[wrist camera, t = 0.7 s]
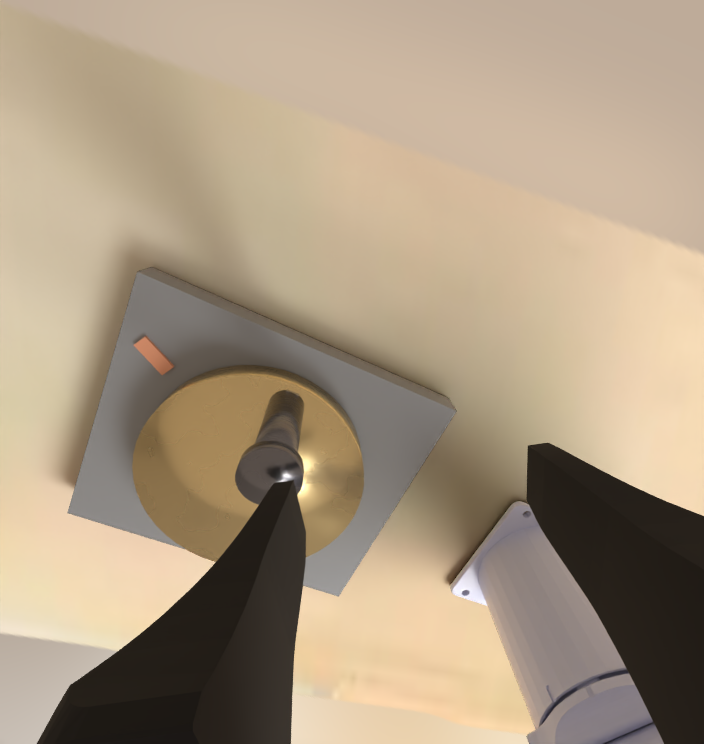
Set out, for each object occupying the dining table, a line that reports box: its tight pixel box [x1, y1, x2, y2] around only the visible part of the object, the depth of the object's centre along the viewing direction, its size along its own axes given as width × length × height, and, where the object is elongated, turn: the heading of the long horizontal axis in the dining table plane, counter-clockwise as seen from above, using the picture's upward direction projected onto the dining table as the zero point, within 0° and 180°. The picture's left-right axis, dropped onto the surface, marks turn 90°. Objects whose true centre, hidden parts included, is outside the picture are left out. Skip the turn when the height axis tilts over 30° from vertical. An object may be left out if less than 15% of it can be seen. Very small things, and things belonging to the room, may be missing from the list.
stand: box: [68, 267, 456, 596], centre depth 22 cm, size 16×14×2 cm
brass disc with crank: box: [132, 365, 364, 562], centre depth 18 cm, size 11×11×7 cm
